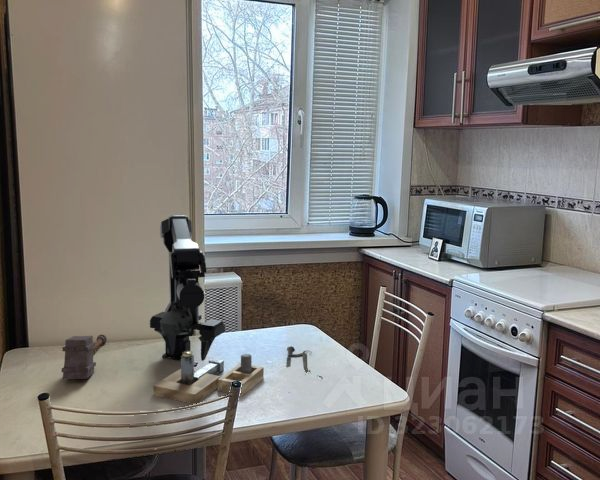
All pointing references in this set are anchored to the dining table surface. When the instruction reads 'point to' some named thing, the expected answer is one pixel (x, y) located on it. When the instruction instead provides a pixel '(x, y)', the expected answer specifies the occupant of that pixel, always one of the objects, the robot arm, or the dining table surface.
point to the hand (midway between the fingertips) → (187, 357)
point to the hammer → (80, 356)
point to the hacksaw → (297, 356)
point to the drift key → (210, 368)
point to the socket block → (186, 387)
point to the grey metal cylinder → (187, 368)
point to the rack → (242, 375)
